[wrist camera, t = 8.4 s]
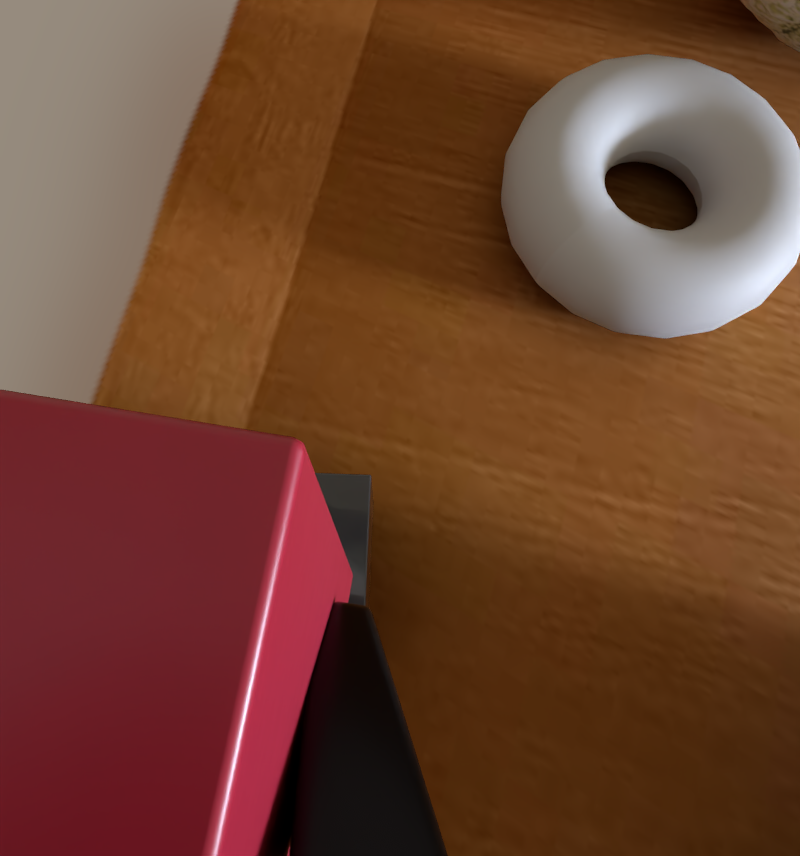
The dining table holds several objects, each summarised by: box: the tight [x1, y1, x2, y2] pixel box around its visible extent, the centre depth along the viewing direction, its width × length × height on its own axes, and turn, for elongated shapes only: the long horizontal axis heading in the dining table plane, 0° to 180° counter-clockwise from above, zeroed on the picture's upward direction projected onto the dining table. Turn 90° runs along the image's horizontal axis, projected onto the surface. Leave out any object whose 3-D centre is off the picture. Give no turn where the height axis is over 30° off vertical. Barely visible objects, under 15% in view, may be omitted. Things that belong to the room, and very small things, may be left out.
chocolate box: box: [0, 390, 353, 856], centre depth 6 cm, size 4×3×7 cm, turn 171°
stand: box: [315, 473, 374, 608], centre depth 19 cm, size 5×5×4 cm
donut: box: [501, 54, 800, 339], centre depth 22 cm, size 10×4×10 cm
